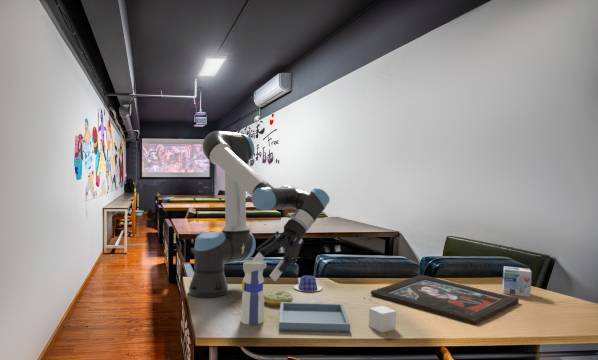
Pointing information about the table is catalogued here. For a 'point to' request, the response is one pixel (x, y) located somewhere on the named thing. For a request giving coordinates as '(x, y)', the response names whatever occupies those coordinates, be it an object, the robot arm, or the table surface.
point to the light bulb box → (517, 281)
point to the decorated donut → (277, 297)
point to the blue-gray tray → (313, 317)
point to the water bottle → (253, 292)
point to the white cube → (382, 318)
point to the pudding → (308, 284)
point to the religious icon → (447, 298)
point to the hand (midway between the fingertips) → (260, 274)
